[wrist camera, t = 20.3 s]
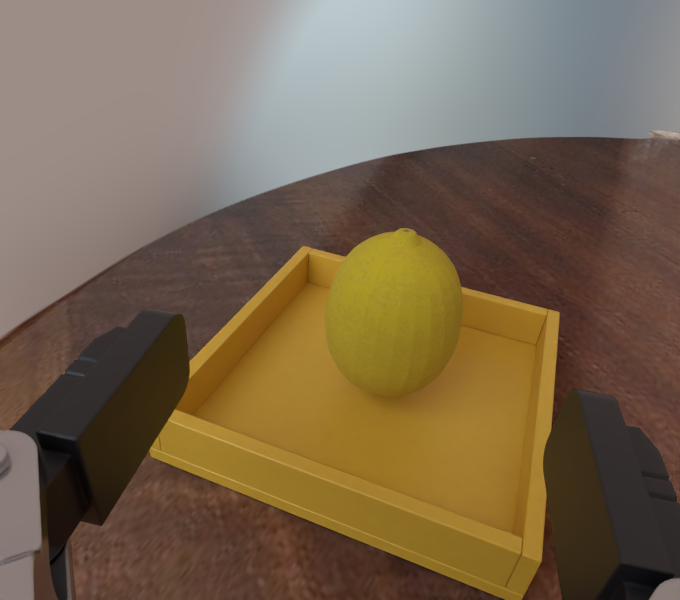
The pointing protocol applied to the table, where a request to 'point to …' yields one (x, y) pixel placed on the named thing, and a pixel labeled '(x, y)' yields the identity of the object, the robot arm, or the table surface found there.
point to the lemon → (394, 313)
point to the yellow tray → (380, 431)
